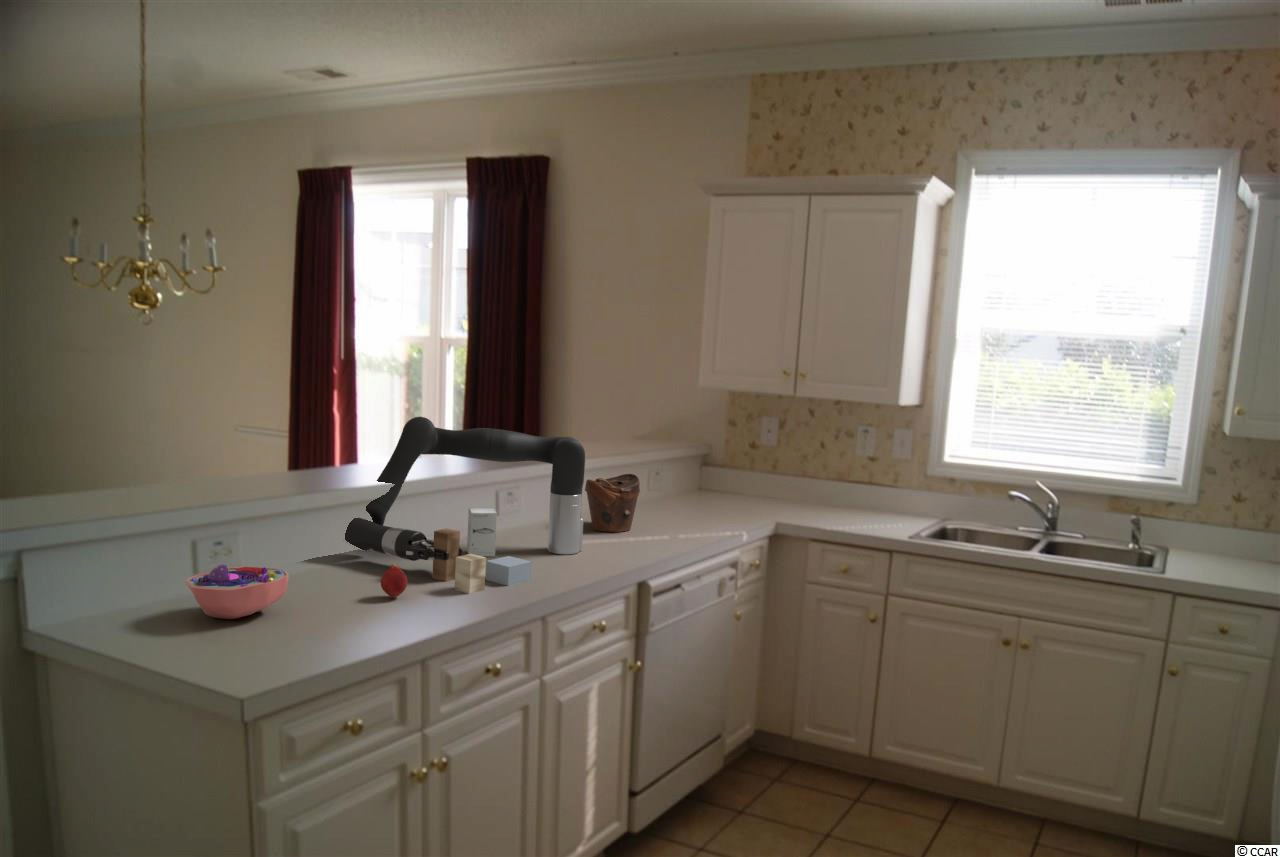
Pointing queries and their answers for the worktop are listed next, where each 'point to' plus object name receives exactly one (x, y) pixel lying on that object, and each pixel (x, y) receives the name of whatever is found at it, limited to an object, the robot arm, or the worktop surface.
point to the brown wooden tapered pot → (613, 502)
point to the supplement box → (481, 531)
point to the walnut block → (450, 543)
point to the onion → (394, 581)
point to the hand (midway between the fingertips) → (454, 554)
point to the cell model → (237, 590)
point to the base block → (508, 570)
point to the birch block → (470, 573)
